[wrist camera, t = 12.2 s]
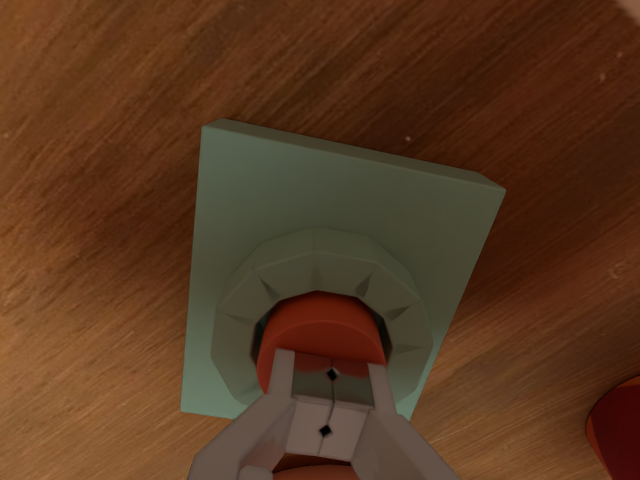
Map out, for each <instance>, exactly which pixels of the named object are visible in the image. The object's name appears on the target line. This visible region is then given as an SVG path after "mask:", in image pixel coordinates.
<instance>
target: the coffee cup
mask: <svg viewBox="0 0 640 480" xmlns="http://www.w3.org/2000/svg"><path fill="white" fill-rule="evenodd" d="M586 434H587V438H588V440H589V442H590V444H591V446H592V448H593V449H594V451H595V453H596V454H597V456H598V458H599V459H600V461H601V463H602V464H603V466H604V467H605V469H606V470H607V472H608V474H609V475H610V477H611V478H612V480H640V376H638V377H635V378H633V379H630V380H628V381H626V382H624V383H622V384H621V385H619V386H617V387H616V388H614V389H613V390H611V391H610V392H609V393H607V394H606V395H605V396H604V397H603V398H602V399H601V400H600V401H599V402H598V403H597V404H596V406H595V407H594V408H593V410H592V412H591V413H590V415H589V418H588V421H587V425H586Z"/></svg>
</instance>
